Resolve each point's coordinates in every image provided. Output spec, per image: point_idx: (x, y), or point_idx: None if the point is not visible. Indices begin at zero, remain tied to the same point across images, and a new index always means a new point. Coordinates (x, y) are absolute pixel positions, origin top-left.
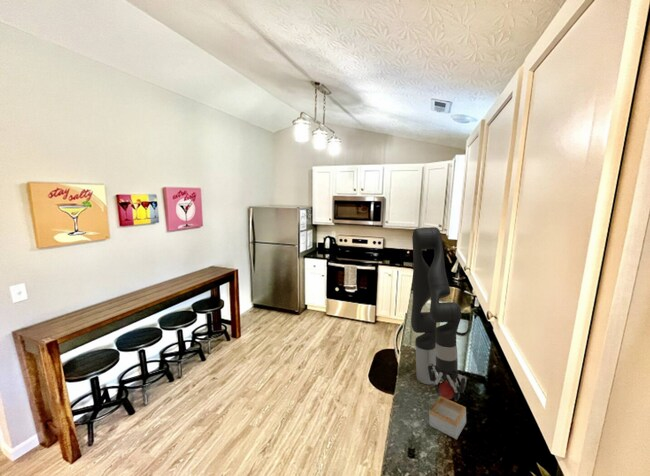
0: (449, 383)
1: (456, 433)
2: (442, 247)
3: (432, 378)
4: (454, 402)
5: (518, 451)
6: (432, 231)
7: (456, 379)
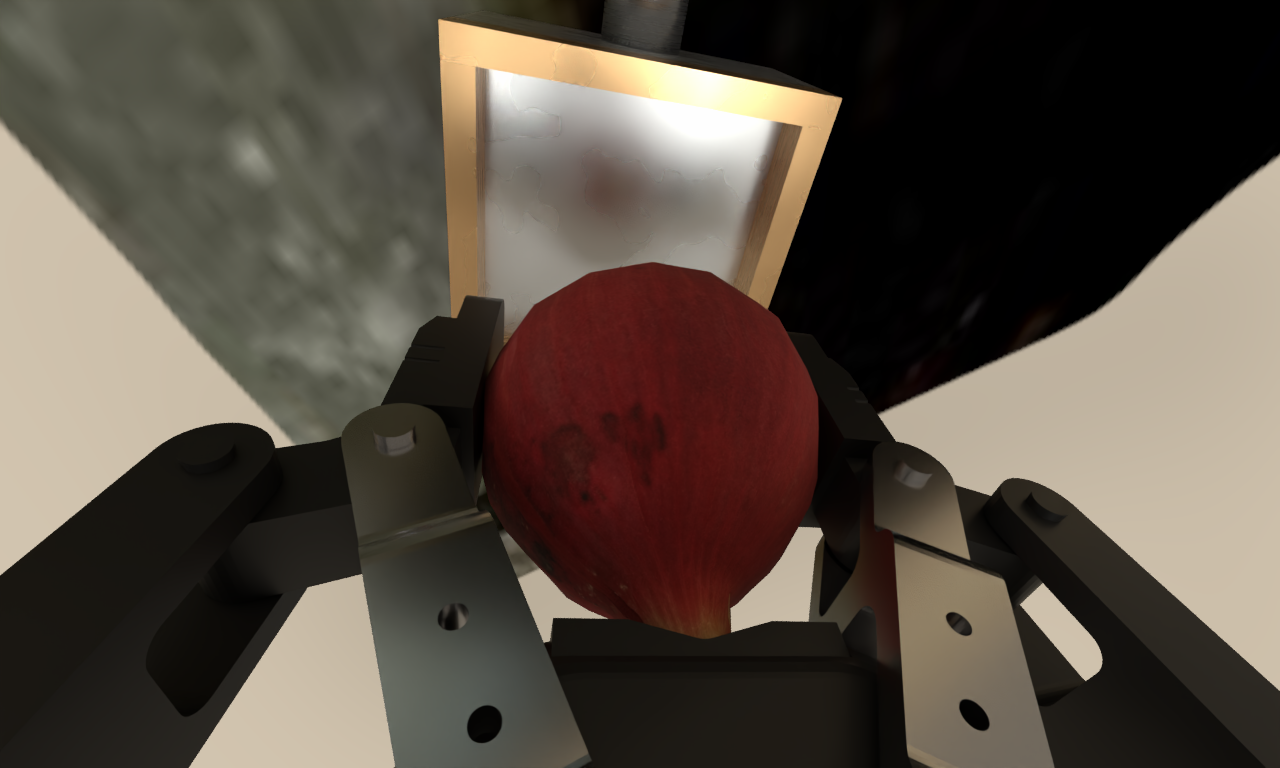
0: (738, 595)
1: None
2: None
3: (274, 634)
4: (685, 71)
5: (1128, 186)
6: None
7: (1003, 659)
